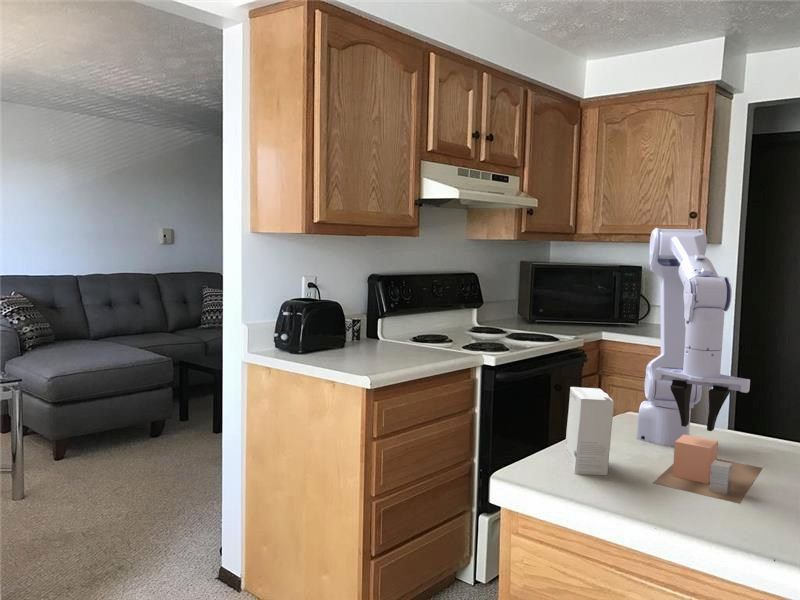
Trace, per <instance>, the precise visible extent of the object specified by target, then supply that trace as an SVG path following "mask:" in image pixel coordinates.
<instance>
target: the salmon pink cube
mask: <svg viewBox="0 0 800 600" xmlns="http://www.w3.org/2000/svg"><path fill="white" fill-rule="evenodd" d="M718 447H719V440H715V439H710V438H705V437H700V436H694V435H690V434H689V435H685V434H684V435H682V436H681V437H680V438H679V439H677V440H676V441H675V447H674V450H673V462H672V464H673V476H675V477H679V478H684V479H688V480H693V481H697V482H702V483H706V484H708V483H709V482H710V472H711V464H712V462H713V461H714V460H717V459H718V449H719V448H718Z"/></svg>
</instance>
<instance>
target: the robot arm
mask: <svg viewBox="0 0 800 600" xmlns="http://www.w3.org/2000/svg"><path fill="white" fill-rule="evenodd" d="M707 241H708V240H707V234H706V231H704V229H702V228H698V229H688V228H687V229H686V228H683V229H682V228H679V229H677V228H659V227H654V229H653V230H652V231H651V233H650V238H649V266H650V272H652V273H654V274H656V275H657V276H658V280H659V286H660V287H659V288H660V291H659V293H660V297H659V298H660V301H659V302H660V307H659V308H660V354H659V355H658V356H657V357H655V358H653V359H651V361H649V362H648V363H647V365H646V369H645V378H644V395H645V398H646V399H647V400H643V401H642V402H641V403H640V405H639V409H638V414H637V425H636V426H637V429H636V430H637V431H636V440H639V441H645V442H649V443H654V444H658V445H661V446H666V447H672V448H673V447H674V448H675V441H676V440H677V439H679V438H680V437H681V436H682V435H684V434H685V435H690V426H691V413H692V411H691V410H692V409H694V407H695V406H694V405H697V404H698V403H699V402H700V401H701V398H702V393H703V387H709V388H710V389H709V390H708V415H707V416H708V417H707V423H706V431H708V432H713V431H714V429H715V427H716V421H717V418H718V416H719V414H720V411H721V409H722V407H723V405H724V403H725V401H726V400H727V398H728V397H729V395H730V393H731V392H732V391H736V392H737V391H738V392H740V393H745V394H747V393H749V392H750V388H751V387H750V386H751V379H749V378H743V377H737V376H732V375H728V374H727V375H726V374H721V367H722V366H721V365H722V352H723V341H724V326H725V325H724V324H725V313H726V312H728V311H729V308H730V306H731V302H732V284H731V280H730V278H729V276H724V275H723V276H722V275H720V276H719V274H718V273H717V271H716V268H715V267H714V265H713V262H712V260H710V259H709V258H708V257H706V256H705V255H706V252H707V245H708V244H707V243H708V242H707Z"/></svg>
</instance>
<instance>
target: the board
mask: <svg viewBox="0 0 800 600" xmlns="http://www.w3.org/2000/svg"><path fill="white" fill-rule="evenodd" d="M717 461H722V462H727V463H732V474H731V487H730V492H729V493H728V495H722V494H718V493H714V492H709V486H710V482H709V483H708V484H706V483H702V482H697V481H693V480H688V479H684V478H679V477H675V476H673V463H672V464H671V465H670V466H669V467H668V468H667V469H666V470H665V471H664V472H663V473H661V474H660V475H659V476H657V478H656V479H654V481H653V482H652V484H655V485H657V486H658V485H659V486H663V487H667V488H671V489H675V490H679V491H683V492H688V493H693V494H697V495H701V496H706V497H709V498H714V499H719V500H723V501H726V502H731V503H734V504H740V503H741V502H742V500H743V499H744V497H745V496H746V494H747V493H748V491H749V490H750V488H751V486H752V485H753V484H754V482H755V481H756V479H757V477H758V476H759V474H760V473H761V471H762V469H763V467H761V466H755V465H751V464H750V465H749V464H745V463H741V462H740V463H739V462H735V461H730V460H726V459H719V458H717Z"/></svg>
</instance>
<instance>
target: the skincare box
mask: <svg viewBox="0 0 800 600" xmlns="http://www.w3.org/2000/svg"><path fill="white" fill-rule="evenodd" d="M569 389H570V390H569V402H568V413H567V422H566V423H567V424H566V432H565V434H566V436H565V446H564V447H565V448H564V456H563V458H564V459H563V462H564V463H565V462H566V463H567V464H568V466H569V467H570V468H571V470H572V472H573V473H574V474H575V475H597V476H599V475H603V476H608V472H609V464H610V463H609V460H610V450H611V439H612V430H613V429H612V427H613V417H614V409H615V408H614V407H615V401H614V399H612V398H611V397H610V396H609V394H608V393H606V392H604V390H602V389H601V388H597V387H596V388H595V387H579V386H570V387H569Z"/></svg>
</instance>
